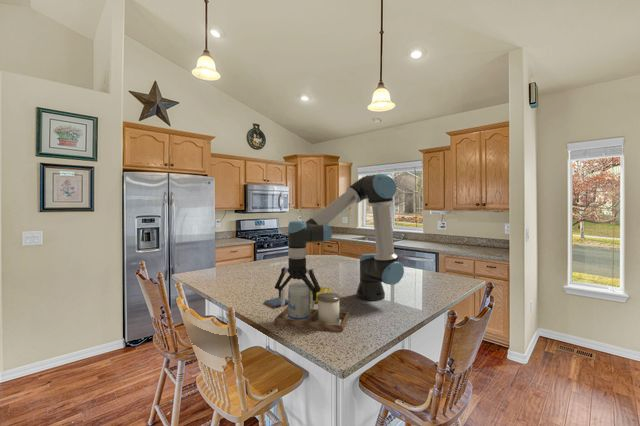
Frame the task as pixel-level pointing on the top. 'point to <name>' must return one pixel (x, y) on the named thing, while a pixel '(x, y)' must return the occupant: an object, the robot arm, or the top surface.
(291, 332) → the top surface
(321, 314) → the canister
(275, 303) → the woven mat
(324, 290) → the element tile
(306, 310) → the supplement tub
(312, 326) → the crate
